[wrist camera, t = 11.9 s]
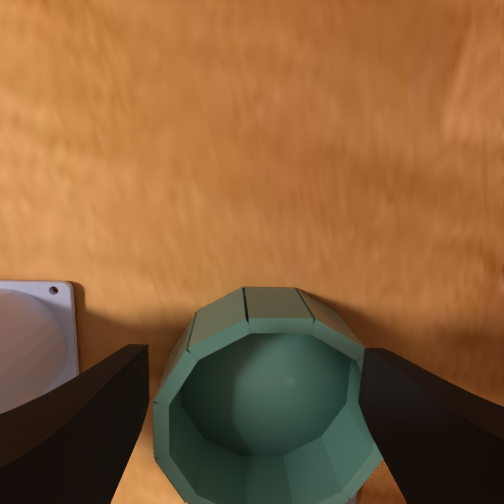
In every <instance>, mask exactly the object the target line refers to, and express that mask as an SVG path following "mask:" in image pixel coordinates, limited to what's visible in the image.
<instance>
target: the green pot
mask: <svg viewBox="0 0 504 504" xmlns="http://www.w3.org/2000/svg"><path fill="white" fill-rule="evenodd" d="M365 348H366V347H365V346H364V345H363V344H362V342H361V341H360V340H359V339H358V337H357V336H356V335H355V334H354V333H353V331H352V330H351V329H350V328H349V326H348V325H347V324H346V323H345V322H344V320H343V319H342V318H341V317H340V315H339V314H338V313H337V312H335V311H334V310H332V309H330V308H329V307H327V306H325V305H324V304H322V303H320V302H319V301H317V300H315V299H314V298H312V297H310V296H309V295H307V294H305V293H304V292H302V291H300V290H299V289H295V288H284V287H245V290H243V288H240V289H238V290H236V291H234V292H232V293H230V294H228V295H226V296H224V297H222V298H221V299H219V300H217V301H215V302H213V303H211V304H209V305H207V306H205V307H203V308H201V309H199V310H198V311H197V313H195V314H194V316H193V317H192V319H191V321H190V322H189V324H188V325H187V327H186V328H185V330H184V332H183V333H182V335H181V336H180V338H179V340H178V341H177V343H176V344H175V346H174V347H173V349H172V351H171V352H170V355H169V358H168V361H167V364H166V367H165V370H164V372H163V375H162V378H161V381H160V384H159V387H158V389H157V392H156V395H155V398H154V401H153V443H154V458H155V461H156V463H157V464H158V466H159V467H160V468H161V470H162V471H163V473H164V474H165V475H166V477H167V478H168V480H169V481H170V482H171V484H172V485H173V487H174V488H175V489H176V491H177V492H178V494H179V495H180V496H181V498H182V499H183V501H184V502H185V503H186V502H188V504H344V503H346V502H348V501H349V499H348V498H351V499H352V498H353V496H354V495H355V494H356V493H357V491H358V490H359V489H360V488H361V486H362V485H363V484H364V482H365V481H366V480H367V479H368V477H369V476H370V475H371V474H372V472H373V471H374V470H375V468H376V467H377V466H378V465H379V463H380V462H381V461H382V460H383V457H382V455H381V453H380V451H379V449H378V448H377V446H376V444H375V442H374V440H373V438H372V436H371V434H370V432H369V430H368V428H367V425H366V422H365V420H364V417H363V414H362V412H361V409H360V406H359V403H358V399H359V390H360V382H361V374H362V365H363V357H364V349H365Z"/></svg>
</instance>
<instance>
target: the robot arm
mask: <svg viewBox="0 0 504 504" xmlns="http://www.w3.org/2000/svg"><path fill="white" fill-rule="evenodd" d="M53 286H54V287H56V288H57V289H58V293H56V292H54V291H53V289H52V287H53ZM149 401H150V399H149V357H148V345H139V344H129V345H127V346H125V347H123V348H122V349H120V350H118V351H117V352H115V353H113V354H112V355H110V356H109V357H107V358H106V359H104V360H102V361H101V362H99V363H98V364H96V365H94V366H93V367H91V368H90V369H88V370H87V371H85V372H83V373H81V374H80V375H79V362H78V347H77V333H76V318H75V304H74V289H73V286H72V285H71V283H69V282H67V281H37V280H0V504H110V503H111V501H112V498H113V496H114V494H115V491H116V489H117V487H118V484H119V482H120V480H121V477H122V475H123V473H124V470H125V468H126V465H127V463H128V461H129V458H130V456H131V454H132V451H133V449H134V447H135V444H136V442H137V439H138V437H139V434H140V432H141V429H142V426H143V423H144V419H145V416H146V412H147V408H148V404H149ZM358 403H359V406H360V409H361V412H362V414H363V417H364V420H365V422H366V425H367V428H368V430H369V432H370V434H371V436H372V438H373V440H374V442H375V444H376V446H377V448H378V449H379V451H380V453H381V455H382V457H383V459H384V461H385V463H386V464H387V466H388V468H389V470H390V472H391V474H392V476H393V477H394V479H395V481H396V483H397V485H398V487H399V489H400V491H401V492H402V494H403V496H404V498H405V500H406V502H407V504H504V407H502V406H500V405H497V404H495V403H493V402H490V401H488V400H485V399H483V398H481V397H479V396H476V395H474V394H472V393H470V392H468V391H466V390H464V389H462V388H460V387H458V386H456V385H453V384H451V383H450V382H448V381H446V380H444V379H442V378H440V377H438V376H436V375H434V374H432V373H430V372H428V371H427V370H425V369H423V368H421V367H419V366H417V365H415V364H414V363H412V362H410V361H408V360H406V359H404V358H402V357H400V356H398V355H396V354H394V353H392V352H390V351H388V350H385V349H383V348H365V349H364V357H363V365H362V374H361V382H360V390H359V399H358Z"/></svg>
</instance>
